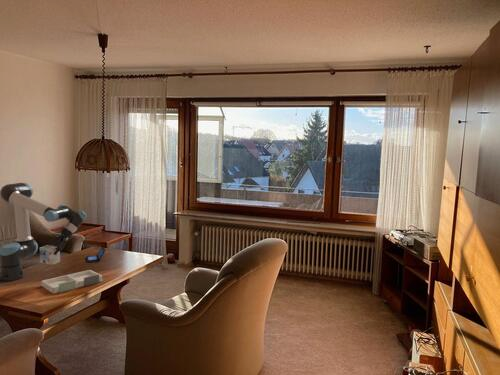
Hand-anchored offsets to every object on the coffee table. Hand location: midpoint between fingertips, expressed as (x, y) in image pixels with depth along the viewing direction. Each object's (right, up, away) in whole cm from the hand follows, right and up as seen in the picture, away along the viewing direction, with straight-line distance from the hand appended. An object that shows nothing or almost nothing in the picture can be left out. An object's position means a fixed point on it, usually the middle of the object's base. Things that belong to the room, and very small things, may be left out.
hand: (46, 256), depth 258 cm
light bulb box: (+2, -4, +2) cm, 5 cm away
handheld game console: (+9, -13, +60) cm, 62 cm away
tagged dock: (+16, -19, +4) cm, 25 cm away
